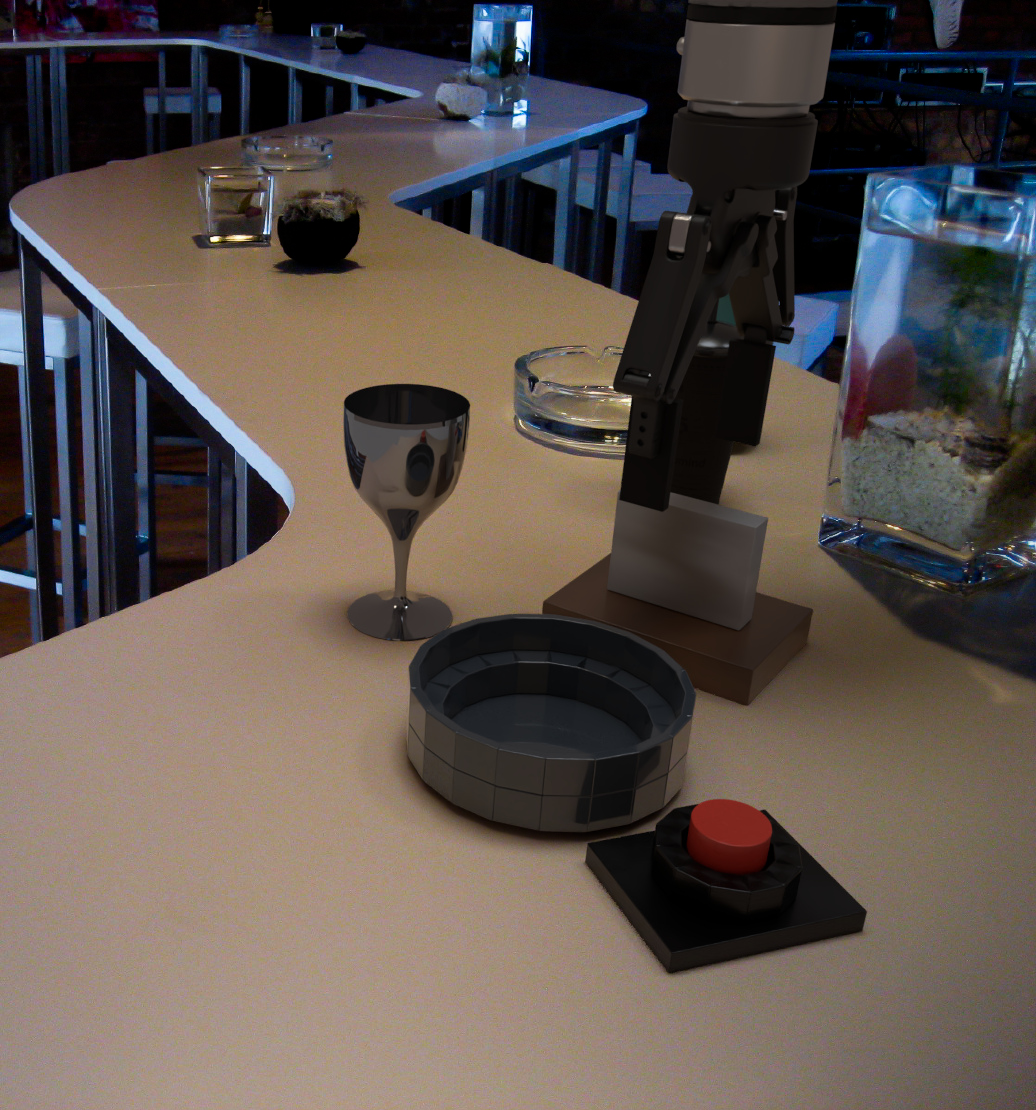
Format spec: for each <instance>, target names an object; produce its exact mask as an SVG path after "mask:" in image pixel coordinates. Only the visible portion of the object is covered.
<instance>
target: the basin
mask: <svg viewBox="0 0 1036 1110" xmlns="http://www.w3.org/2000/svg"><path fill="white" fill-rule="evenodd" d="M696 701H697V692H696V690H695V688H693V685H692V683H691V681H690V679H689V676H688V674H687V672H686V671H685V669H684V668H682V667H681V666H680V665H679V664H678V663H677V662H676V661H675V660H674V659H673V658H672V657H671V656H669V655H668V654H667V653H666V652H665V651H664V650H662V649H661V648H659V647H657V646H655V645H653V644H651V643H649V642H648V641H646V640H644V639H642V638H640V637H638V636H636V635H635V634H633V633H631V632H628V631H625V630H622V629H618V628H615V627H612V626H609V625H606V624H603V623H600V622H597V621H592V620H586V619H580V618H574V617H567V616H561V615H555V614H542V613H506V614H499V615H491V616H485V617H484V616H483V617H478V618H477V617H476V618H473V619H470V620H467V621H465V622H464V621H463V622H461V623H459V624H456V625H452V626H449V627H448V628H447V629H444V630H442V631H441V632H439V633H438V634H436V635H434V636H431V637H430V639H428V640H427V641H425V642H424V643H422V644H420V646H419V647H418V649H417V651H416V652H415V655H414V656H413V658H412V660H411V661H410V663H409V665H408V671H407V697H406V717H405V718H406V719H405V720H406V721H405V723H406V724H405V738H406V739H405V740H406V755H407V757H408V759H409V761H410V762H411V764H412V765H413V767H414V769H415V770H416V771H417V773H418V775H419V776H420V778H421V780H422V781H423V782H424V783H425V784H426V785H428V786H429V787H430V788H432V789H433V790H434V791H435V792H437V793H438V794H439V795H441V796H442V797H443V798H444V799H446V801H448V802H449V803H451V804H453V805H454V806H457V807H459V808H461V809H463V810H466V811H468V812H471V813H473V814H475V815H477V816H479V817H481V818H484V819H486V820H489V821H491V822H492V821H493V822H496V823H501V824H506V825H509V826H514V827H520V828H524V829H529V830H534V831H539V832H552V833H553V832H557V833H558V832H559V833H587V832H588V833H589V832H593V831H600V830H606V829H610V828H611V829H612V828H617V827H620V826H621V827H622V826H626V825H630V824H633V823H635V822H637V821H639V820H641V819H643V818H645V817H648V816H649V815H651V814H653V813H655V812H657V811H660V810H661V809H664V808H665V806H667V805H668V803H669V802H670V801H671V800H672V799H673V798H674V796H675V795H676V794H677V793H678V792H679V791H680V789H681V788H682V787H683V784H684V779H685V772H686V766H687V761H688V754H689V748H690V741H691V734H692V727H693V721H694V714H695V709H696V708H695V707H696Z"/></svg>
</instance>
